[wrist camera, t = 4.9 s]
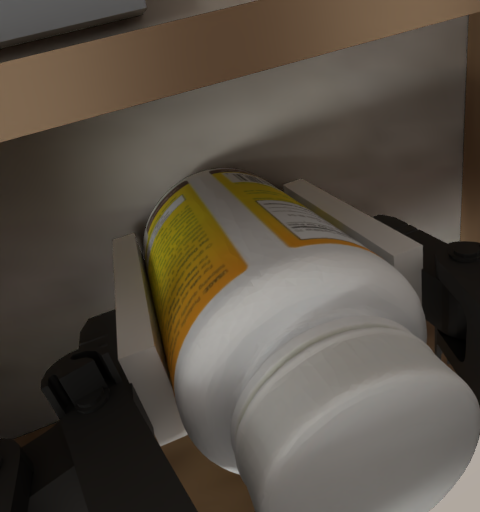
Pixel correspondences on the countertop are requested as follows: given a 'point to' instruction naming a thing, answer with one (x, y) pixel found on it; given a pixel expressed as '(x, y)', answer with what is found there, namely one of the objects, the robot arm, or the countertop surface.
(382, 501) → the supplement bottle
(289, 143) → the countertop surface
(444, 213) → the countertop surface
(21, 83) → the frame
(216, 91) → the countertop surface
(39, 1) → the tray
